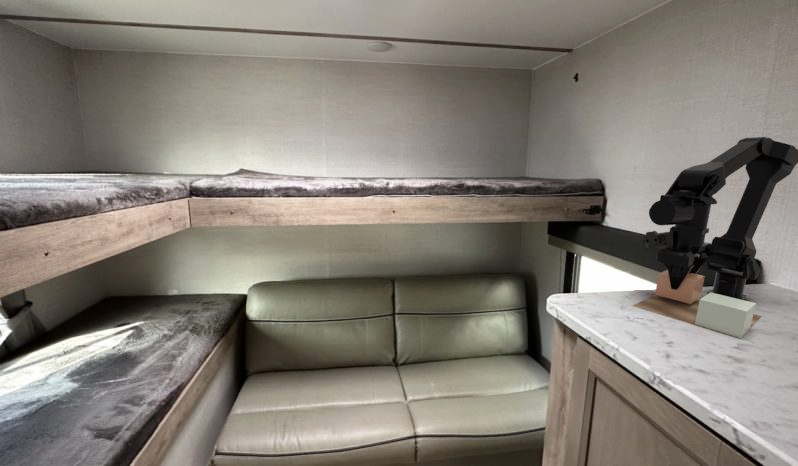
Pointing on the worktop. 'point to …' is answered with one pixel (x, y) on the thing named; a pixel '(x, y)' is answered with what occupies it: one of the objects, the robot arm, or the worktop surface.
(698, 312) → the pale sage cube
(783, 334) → the worktop surface
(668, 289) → the salmon foam cube
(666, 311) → the walnut board
